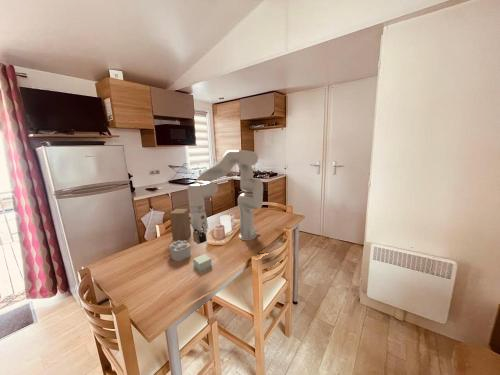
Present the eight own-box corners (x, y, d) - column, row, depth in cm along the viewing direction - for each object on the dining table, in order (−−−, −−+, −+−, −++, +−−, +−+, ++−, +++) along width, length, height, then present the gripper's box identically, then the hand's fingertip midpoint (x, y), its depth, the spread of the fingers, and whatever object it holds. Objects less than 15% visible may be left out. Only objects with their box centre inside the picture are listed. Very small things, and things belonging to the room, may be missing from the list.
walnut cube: (202, 238, 111) (201, 229, 110) (206, 241, 108) (206, 232, 106) (193, 241, 108) (192, 232, 107) (198, 244, 104) (197, 235, 103)
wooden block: (191, 233, 153) (188, 208, 148) (186, 240, 143) (182, 213, 139) (178, 233, 154) (175, 208, 149) (172, 239, 144) (169, 213, 140)
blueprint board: (210, 253, 123) (210, 252, 123) (224, 263, 113) (224, 262, 113) (186, 265, 113) (185, 263, 113) (198, 276, 103) (198, 275, 103)
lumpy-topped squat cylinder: (177, 263, 115) (175, 249, 113) (167, 255, 124) (165, 242, 122) (193, 256, 122) (192, 243, 120) (182, 249, 131) (181, 236, 129)
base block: (205, 260, 116) (204, 253, 115) (211, 265, 111) (211, 258, 110) (193, 265, 111) (193, 258, 110) (200, 270, 106) (199, 264, 105)
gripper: (212, 209, 100) (214, 243, 104) (195, 203, 113) (198, 233, 116) (198, 213, 95) (201, 248, 99) (183, 206, 108) (186, 237, 111)
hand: (200, 240), depth 108 cm, fingers closed on walnut cube, 5 cm apart
